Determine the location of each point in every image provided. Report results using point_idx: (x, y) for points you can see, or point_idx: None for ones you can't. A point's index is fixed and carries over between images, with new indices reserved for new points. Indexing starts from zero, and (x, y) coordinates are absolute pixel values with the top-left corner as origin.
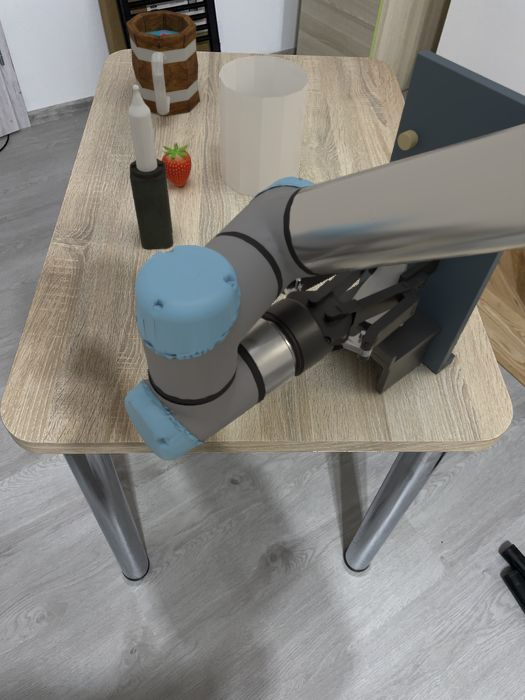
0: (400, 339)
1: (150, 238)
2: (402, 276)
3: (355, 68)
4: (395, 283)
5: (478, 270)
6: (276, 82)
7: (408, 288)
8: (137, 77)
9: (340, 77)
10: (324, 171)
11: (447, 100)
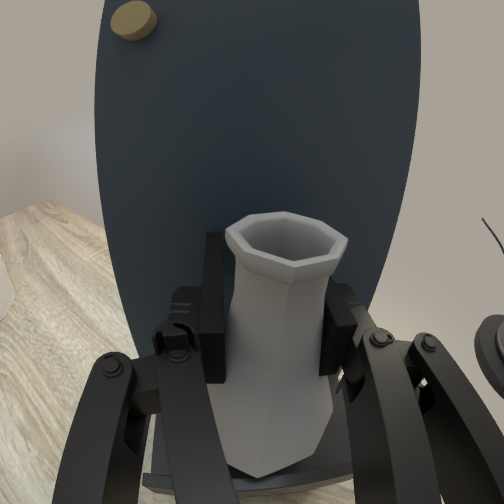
0: None
1: None
2: (345, 326)
3: (35, 207)
4: (317, 358)
5: (382, 221)
6: None
7: (395, 340)
8: None
9: (27, 215)
10: (34, 274)
11: None
